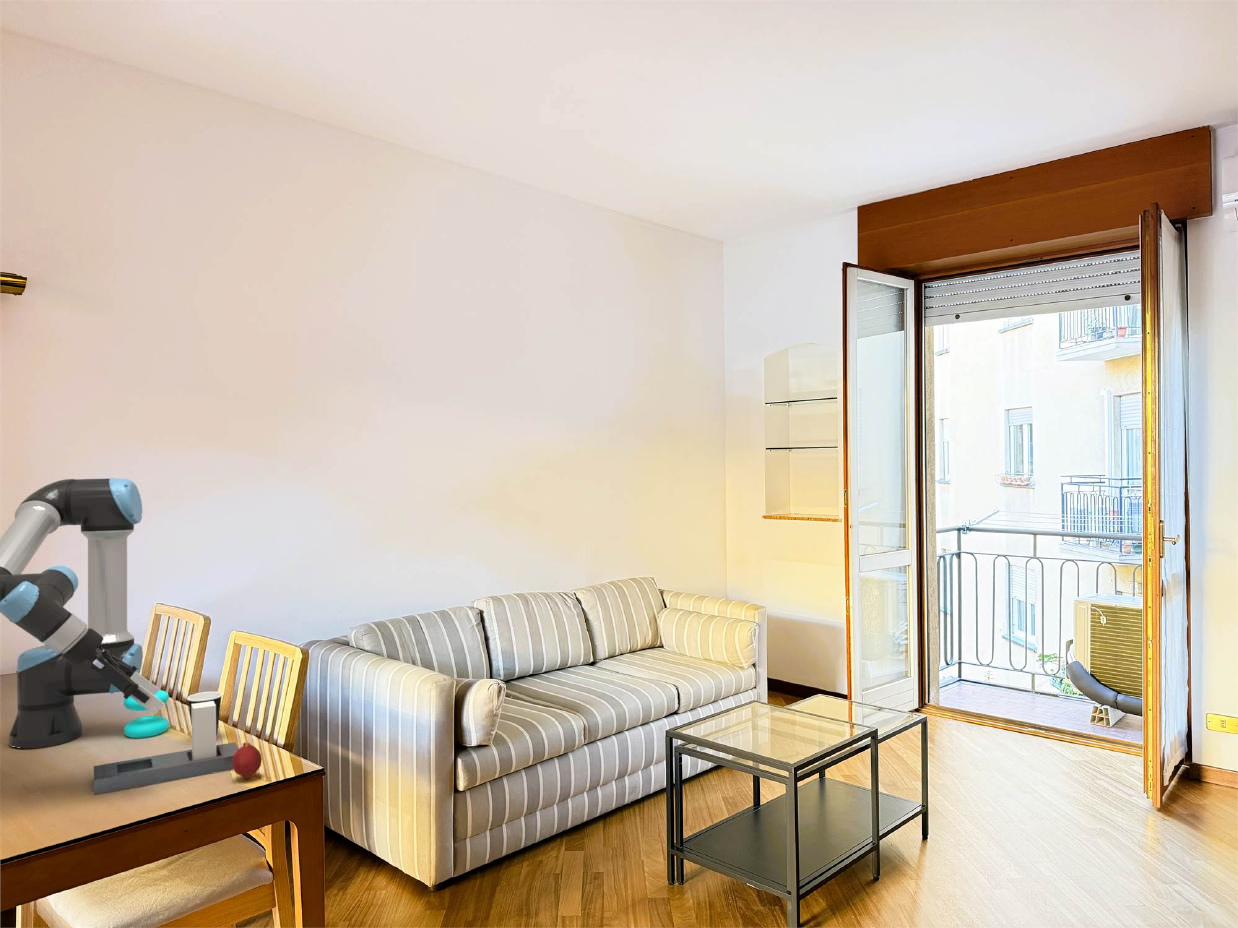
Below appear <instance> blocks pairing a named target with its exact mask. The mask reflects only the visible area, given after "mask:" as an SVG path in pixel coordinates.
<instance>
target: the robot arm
mask: <svg viewBox="0 0 1238 928" xmlns="http://www.w3.org/2000/svg"><path fill="white" fill-rule="evenodd" d="M142 514H143V503H142V498H141V493H140V490H139V489H138V486H137V485H136V484H135V482H134V481H132V480H131V479H129V478H127V479H126V478H117V477H116V478H115V477H111V478H82V479H80V478H79V479H77V478H76V479H74V478H66V479H62V480H57V481H54V482H51V483H48V484H46V485H44V486H43V487H40V488H39V489H37V490H36V491H34V492H33V493H31V494H30V495H28V496H27V497H26V498H24V500H23V501H22V502H21V503H20V504H19V506H18V507H17V508H16V509H15V512H14V520H13V522H12V523H11V524H10V525H9V527H8V528H7V529H6V530H5V532H4V533H3V535H2V536H1V537H0V614H1V615H3V616H4V617H5V618H6V619H8V621H9V622H10V623H12V624H14V625H16V626H18V627H19V628H20V629H22V630H23V631H25V632H26V633H28V634H29V635H31V636H32V637H33V638H35V639H36V640H38V641H39V642H40V643H42V644H43V645H42V646H37V647H34V648H30V649H28V650H24V651H23V652H21V653H20V654H19V656H18V657H17V666H16V692H17V693H16V695H17V696H16V697H17V700H16V701H17V714H16V716H15V718H14V721H13V724H12V727H11V731H10V732H9V737H8V741H9V742H8V745H9V744H10V745H11V746H15V747H20V748H32V749H40V748H46V747H53V746H58V745H61V744H65V743H69V742H71V741H74V740H77V739H78V738H79V737H81V736H82V735H83V724H82V720H81V719H80V716H79V714H78V711H77V709H76V706H75V696H83V695H98V694H114V693H120V692H121V693H122V694H123V696H122V697H123V698H124V699H127V698H128V697H129V696H130V697H131V698H132V699H134V700H135V701H136V702H138V703H139V704H141V705H142V706H143V707H145V708H146V709H148V710H147V711H149V712H151V714H153V716H156V714H157V713H158V712H159V711H160V710H161V709H162V708H163V707H164V706H165V705H166V703H164V702H162V701H161V700H159V699H158V698H157V697H155V696H154V695H155V694H156V693H157V692H158V691H159V690H161V689H160V688H159V687H158V686H156V685H155V684H154V683H152V682H151V681H149V680H148V679H147V678H146V677H144V676H143V675H141V669H142V664H143V658H144V655H143V647H142V645H141V644H139V643H135V636H134V635H133V634H132V633H131V632H129V631H128V537H129V536H130V535H131V534H132V533H133V532H135V531H134V530H135V525H137V524H140V523H141V522H142V518H143V515H142ZM64 526H80V533H81V535H83V536H84V537H86V539H87V623H86V622H84V621H83V620H82V619H80V617H78V616H77V615H75V614H74V613H71V612H70V611H68V610H67V609H66V608H65V606H66V605H67V603H68V602H69V601H70V599H72V598H73V597H74V594H75V592H76V591H77V588H78V587H79V577H78V576H77V573H76V572H75V571H73V570H72V568H69V567H66V566H64V565H53V566H51V567H49V568H47V569H45V570H44V571H42V572H40V573H23V572H24V571H25V569H26V568H27V566H28V565H29V563H30V562H31V560H32V559H33V557H34V555H35V554H36V553H37V551H38V549H39V548H40V547H41V545H42V544H43V542H44V541H45V539H46V538H47V537H48V535H50V534H52V533H54V532H56V531H57V530H58V529H59V527H64Z"/></svg>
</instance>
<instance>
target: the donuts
mask: <svg viewBox="0 0 1238 928" xmlns="http://www.w3.org/2000/svg"><path fill="white" fill-rule="evenodd" d="M154 696H155V697H157V698H158V699H159V700H161V701H162V702H164V703H165V704H167V703H168V701H169V698H170V696H169V693H168V692H167V691H165V690H161V689H160V690H159V691H158V692H157V693H156V694H155V695H154ZM123 706H124V707H125V708H126V709H128V710H129V711H135V712H144V711H145V712H146V711H149V710H148V709H146V708H145V707H143V706H142V705H141V704H139V703H138V702H136V701H135V700H134V699H132V698H131V697H130V696H129V697H128V698H127V699H125V698H124V699H123ZM169 727H170V722H169V719H167V718H165V717H164V716H159V715H147V716H142V717H137V718H135V719H132V720H131V721H129V722H128V723H127V724H126V725H125V726H124V729H123V733H124V734H125V736H127V737H128V738H134V739H142V738H150V737H155V736H158V735H160V734H163V733H164V732H166V731H167V730H168V728H169Z"/></svg>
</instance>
